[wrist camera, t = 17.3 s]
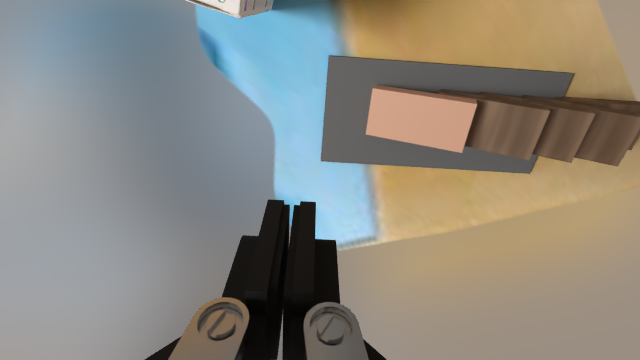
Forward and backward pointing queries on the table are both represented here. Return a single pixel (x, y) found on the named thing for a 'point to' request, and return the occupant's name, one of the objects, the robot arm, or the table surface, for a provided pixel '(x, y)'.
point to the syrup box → (236, 6)
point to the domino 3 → (558, 128)
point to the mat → (364, 73)
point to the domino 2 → (504, 125)
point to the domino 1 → (420, 117)
